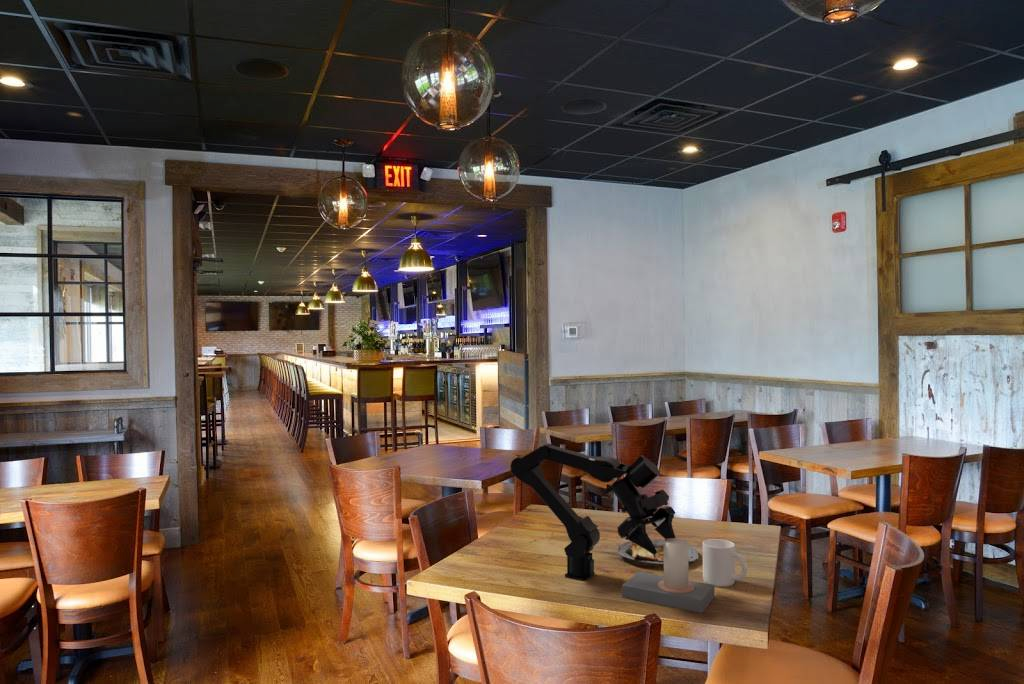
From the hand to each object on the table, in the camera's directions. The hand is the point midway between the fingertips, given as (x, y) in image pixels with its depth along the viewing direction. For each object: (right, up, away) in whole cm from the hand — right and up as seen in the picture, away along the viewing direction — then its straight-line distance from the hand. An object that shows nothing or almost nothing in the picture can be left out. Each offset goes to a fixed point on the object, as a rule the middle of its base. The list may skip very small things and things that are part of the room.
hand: (666, 549), depth 171 cm
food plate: (+5, -12, +32) cm, 34 cm away
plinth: (0, -12, -1) cm, 12 cm away
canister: (+2, -8, -2) cm, 9 cm away
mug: (+18, -12, +9) cm, 23 cm away
